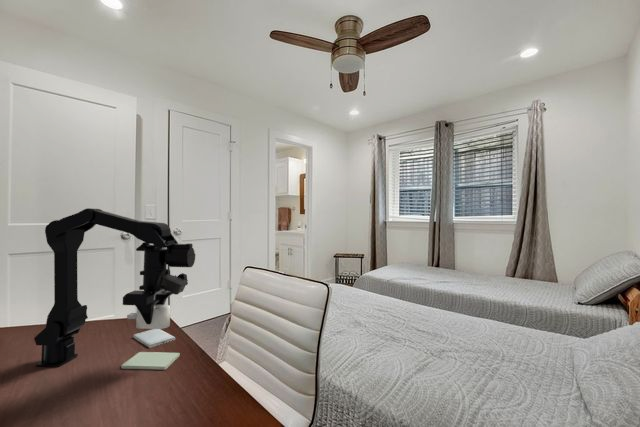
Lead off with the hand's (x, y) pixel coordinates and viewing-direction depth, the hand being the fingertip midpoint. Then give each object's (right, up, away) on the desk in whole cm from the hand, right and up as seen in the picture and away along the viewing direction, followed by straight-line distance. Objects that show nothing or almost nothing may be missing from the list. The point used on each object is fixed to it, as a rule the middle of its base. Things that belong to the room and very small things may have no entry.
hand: (153, 321), depth 83 cm
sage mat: (0, -12, 0) cm, 12 cm away
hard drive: (-8, -12, +15) cm, 21 cm away
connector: (-1, -1, 0) cm, 2 cm away
